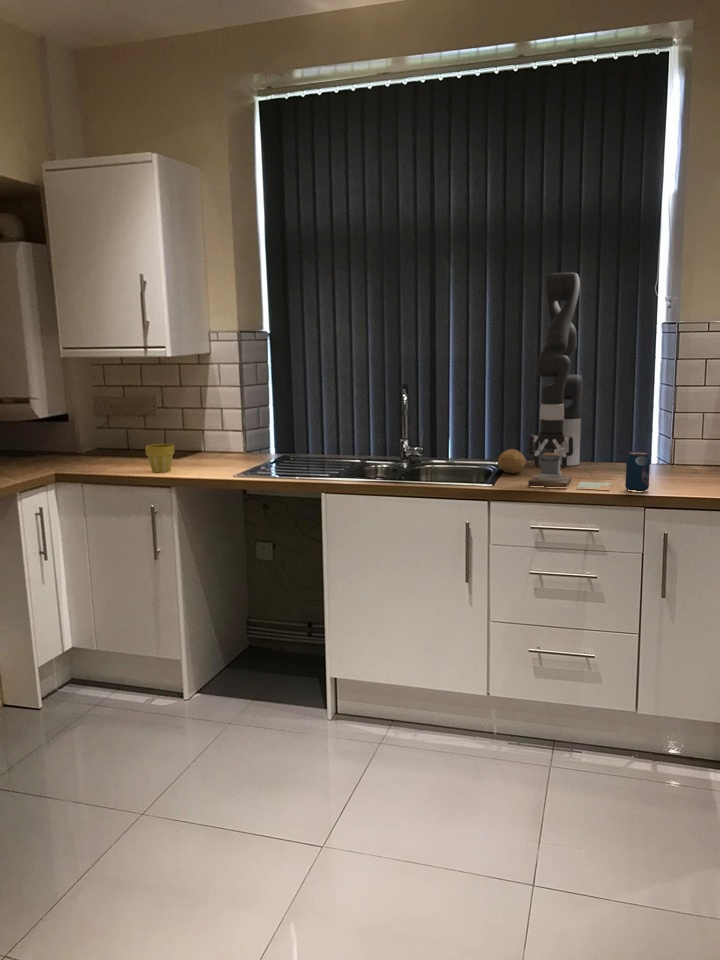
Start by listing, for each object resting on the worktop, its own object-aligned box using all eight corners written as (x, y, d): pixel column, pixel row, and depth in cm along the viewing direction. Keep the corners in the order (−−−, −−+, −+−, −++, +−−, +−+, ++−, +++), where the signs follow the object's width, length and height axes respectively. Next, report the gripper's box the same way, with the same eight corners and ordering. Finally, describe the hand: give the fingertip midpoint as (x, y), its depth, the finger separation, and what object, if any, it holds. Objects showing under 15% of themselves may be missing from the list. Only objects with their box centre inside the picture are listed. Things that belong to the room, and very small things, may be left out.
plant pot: (153, 468, 308) (152, 443, 306) (179, 469, 307) (178, 443, 305) (142, 473, 298) (140, 447, 296) (169, 473, 297) (167, 447, 295)
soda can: (648, 493, 249) (649, 454, 246) (624, 492, 251) (626, 454, 249) (649, 489, 255) (650, 451, 253) (625, 488, 257) (627, 450, 255)
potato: (497, 476, 281) (497, 453, 279) (498, 469, 294) (498, 447, 293) (525, 476, 279) (526, 454, 278) (525, 469, 293) (526, 447, 291)
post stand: (534, 480, 272) (535, 457, 271) (571, 482, 268) (571, 458, 266) (528, 487, 261) (529, 462, 260) (566, 489, 257) (567, 464, 255)
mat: (580, 483, 266) (580, 481, 266) (611, 485, 262) (611, 483, 262) (576, 489, 257) (576, 487, 257) (609, 491, 253) (609, 489, 253)
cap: (543, 470, 267) (543, 451, 266) (560, 471, 265) (560, 452, 264) (540, 473, 262) (540, 454, 261) (557, 474, 260) (558, 455, 259)
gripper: (576, 417, 261) (574, 466, 264) (531, 416, 266) (530, 464, 269) (573, 419, 254) (571, 470, 257) (527, 418, 260) (526, 468, 263)
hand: (550, 467), depth 263 cm, fingers open, 7 cm apart
